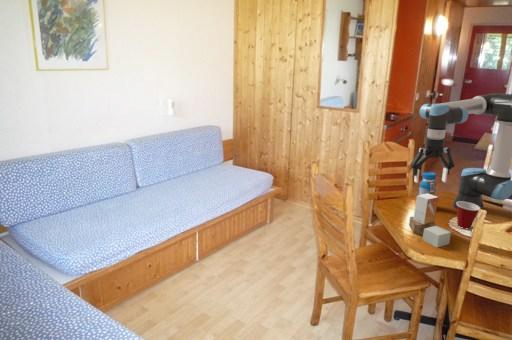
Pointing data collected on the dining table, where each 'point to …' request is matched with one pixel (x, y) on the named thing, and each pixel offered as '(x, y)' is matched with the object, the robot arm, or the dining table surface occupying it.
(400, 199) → the dining table surface
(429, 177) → the beverage bottle
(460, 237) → the dining table surface
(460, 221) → the plastic cup
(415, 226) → the walnut block
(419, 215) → the small box
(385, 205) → the dining table surface
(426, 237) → the grey block
